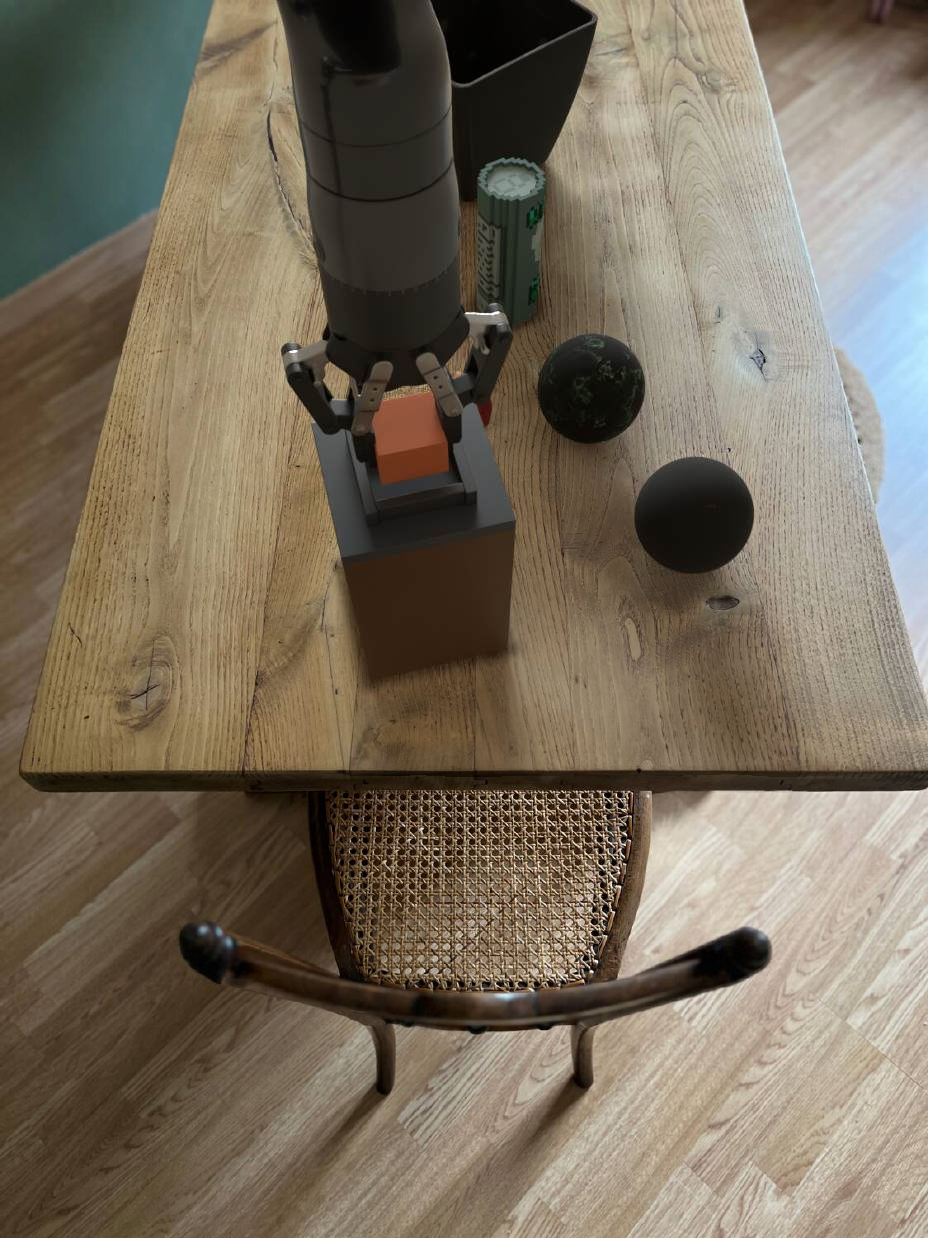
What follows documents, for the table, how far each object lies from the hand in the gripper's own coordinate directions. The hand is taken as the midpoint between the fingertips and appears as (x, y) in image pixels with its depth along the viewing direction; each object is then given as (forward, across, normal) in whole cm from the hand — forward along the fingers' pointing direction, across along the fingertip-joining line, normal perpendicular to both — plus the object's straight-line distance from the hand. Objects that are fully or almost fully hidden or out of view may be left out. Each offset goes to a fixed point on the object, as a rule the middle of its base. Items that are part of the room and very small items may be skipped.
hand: (407, 449), depth 62 cm
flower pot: (+21, -20, -59) cm, 66 cm away
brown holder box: (+21, 0, 0) cm, 21 cm away
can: (+21, -17, -34) cm, 44 cm away
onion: (+21, -8, -18) cm, 29 cm away
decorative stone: (+21, -20, -16) cm, 33 cm away
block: (0, 0, 0) cm, 0 cm away
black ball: (+21, -24, 0) cm, 32 cm away
